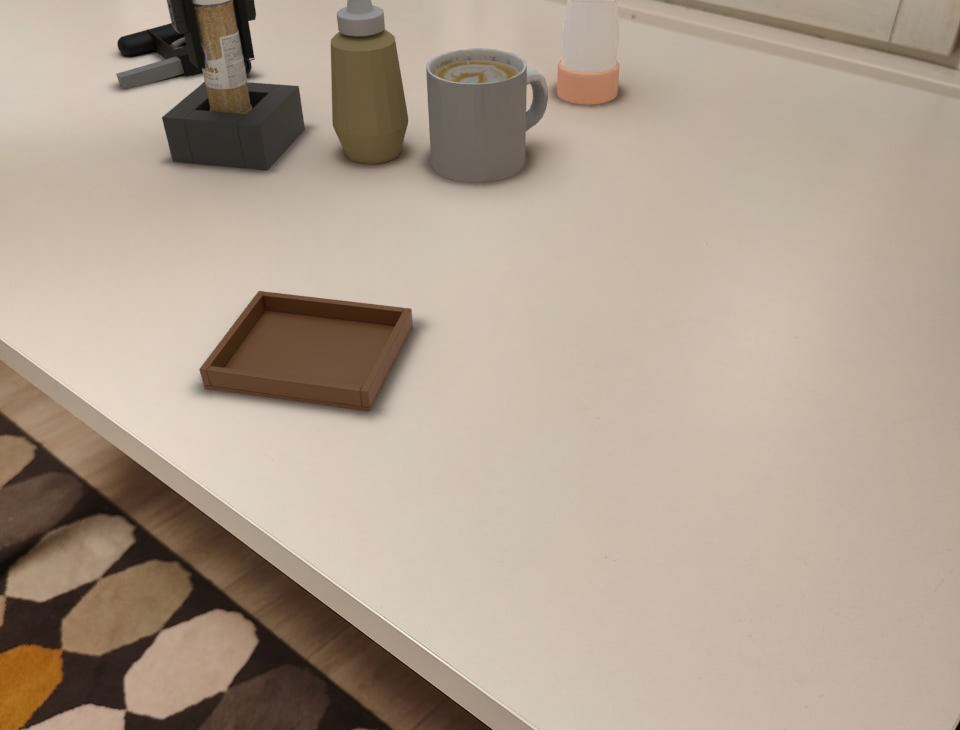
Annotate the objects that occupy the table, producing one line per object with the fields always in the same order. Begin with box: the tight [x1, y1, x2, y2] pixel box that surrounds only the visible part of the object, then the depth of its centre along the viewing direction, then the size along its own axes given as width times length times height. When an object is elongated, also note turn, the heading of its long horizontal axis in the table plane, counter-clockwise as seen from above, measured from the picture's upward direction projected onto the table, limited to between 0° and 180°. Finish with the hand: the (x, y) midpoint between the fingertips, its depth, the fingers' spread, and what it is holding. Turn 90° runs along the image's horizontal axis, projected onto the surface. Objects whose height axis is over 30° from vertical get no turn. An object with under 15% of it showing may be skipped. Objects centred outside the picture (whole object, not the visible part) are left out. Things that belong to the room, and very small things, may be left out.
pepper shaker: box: [556, 0, 620, 106], centre depth 107 cm, size 7×7×19 cm
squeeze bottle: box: [330, 0, 409, 165], centre depth 96 cm, size 8×8×18 cm
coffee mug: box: [425, 47, 549, 183], centre depth 97 cm, size 13×10×10 cm
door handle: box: [115, 22, 256, 90], centre depth 121 cm, size 3×20×16 cm
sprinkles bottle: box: [192, 0, 252, 114], centre depth 97 cm, size 5×5×14 cm
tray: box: [199, 290, 414, 412], centre depth 74 cm, size 13×11×2 cm
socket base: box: [161, 81, 306, 171], centre depth 102 cm, size 11×11×5 cm
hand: (222, 59), depth 98 cm, fingers closed on sprinkles bottle, 5 cm apart
